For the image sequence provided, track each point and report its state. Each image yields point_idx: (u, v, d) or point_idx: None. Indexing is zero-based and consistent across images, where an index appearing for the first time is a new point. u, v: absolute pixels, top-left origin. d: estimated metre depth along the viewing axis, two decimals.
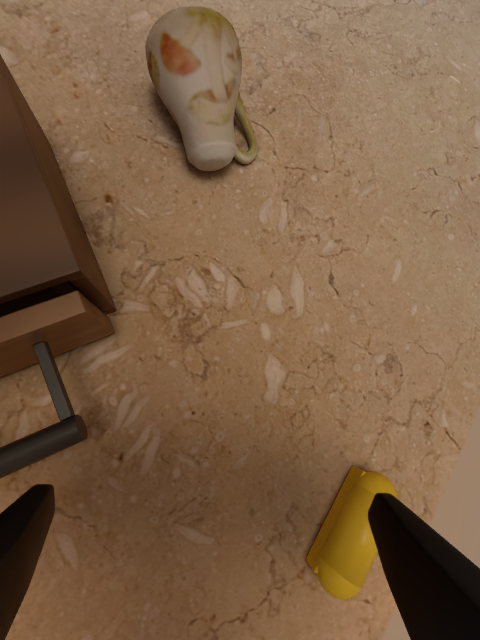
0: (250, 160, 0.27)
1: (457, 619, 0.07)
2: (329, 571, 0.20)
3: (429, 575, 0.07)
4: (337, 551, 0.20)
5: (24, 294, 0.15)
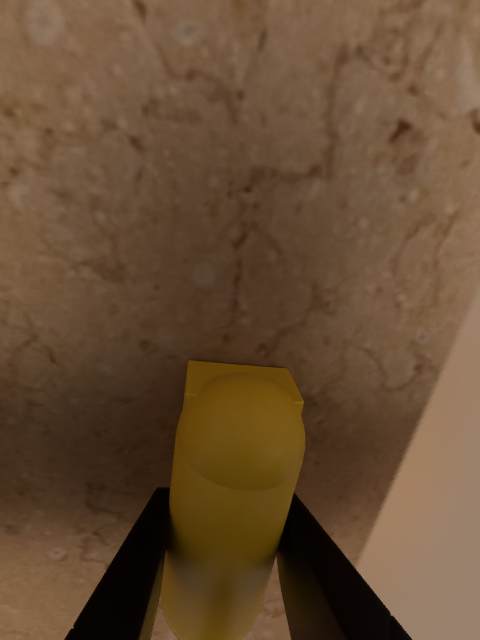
0: None
1: (322, 625, 0.06)
2: (169, 624, 0.08)
3: (305, 577, 0.07)
4: (170, 592, 0.08)
5: None
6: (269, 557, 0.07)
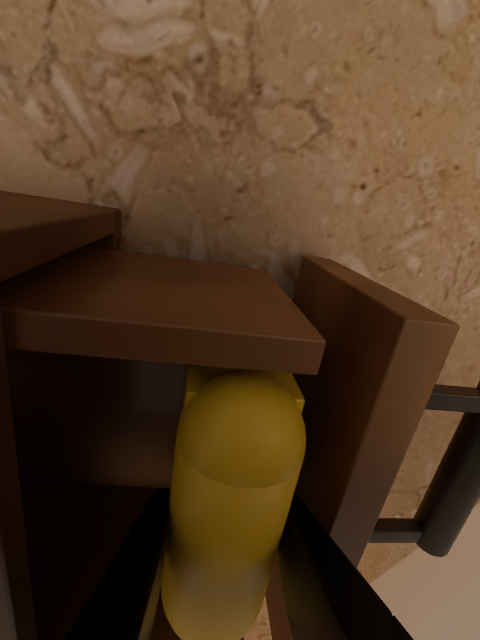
0: None
1: (323, 625, 0.06)
2: (170, 622, 0.08)
3: (306, 577, 0.07)
4: (171, 590, 0.08)
5: (3, 401, 0.05)
6: (270, 555, 0.07)
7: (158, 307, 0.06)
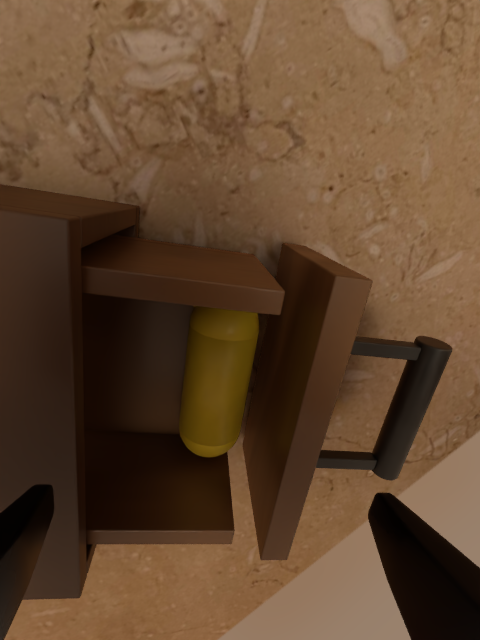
0: None
1: (458, 619, 0.07)
2: (184, 439, 0.15)
3: (430, 575, 0.07)
4: (185, 417, 0.14)
5: (80, 323, 0.09)
6: (240, 390, 0.14)
7: (174, 270, 0.10)
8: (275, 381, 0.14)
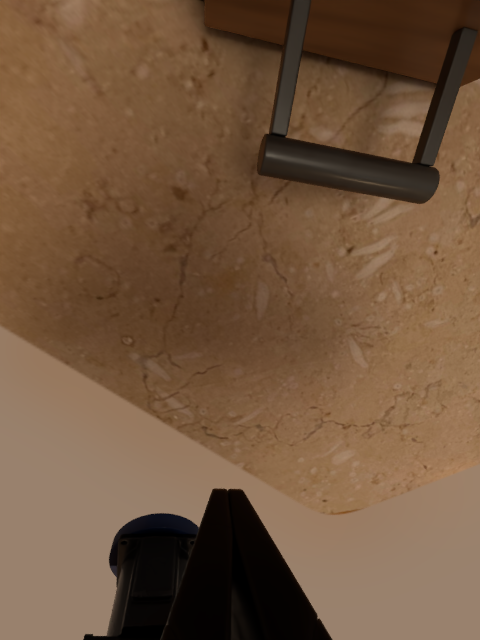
0: None
1: (249, 628, 0.06)
2: None
3: (240, 579, 0.07)
4: None
5: None
6: None
7: None
8: None
